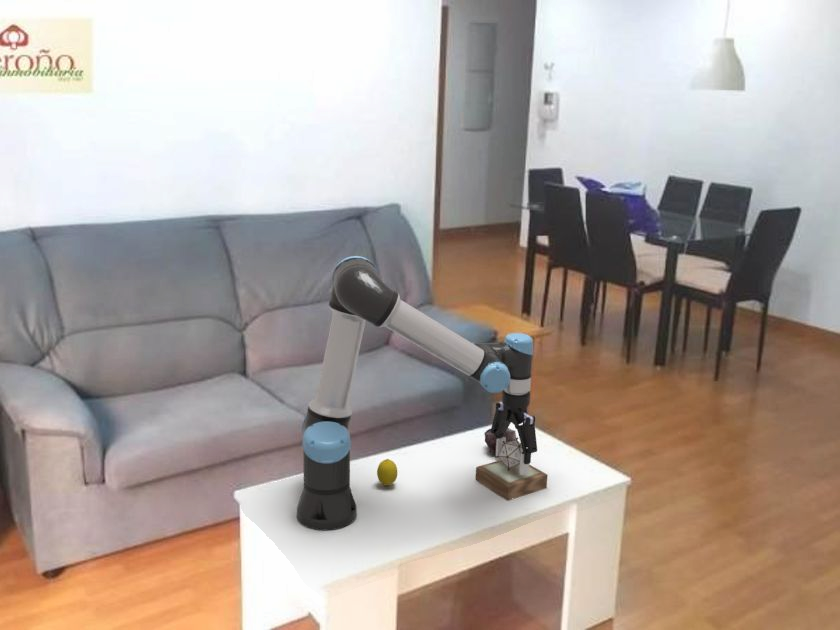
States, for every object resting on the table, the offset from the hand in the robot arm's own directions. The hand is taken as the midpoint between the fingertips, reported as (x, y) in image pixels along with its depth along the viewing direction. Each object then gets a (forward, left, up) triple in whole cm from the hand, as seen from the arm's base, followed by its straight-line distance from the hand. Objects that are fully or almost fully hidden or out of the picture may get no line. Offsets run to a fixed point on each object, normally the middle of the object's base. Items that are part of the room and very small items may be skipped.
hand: (511, 466), depth 239 cm
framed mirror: (0, 0, -5) cm, 5 cm away
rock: (+10, +17, -6) cm, 21 cm away
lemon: (-30, +17, -5) cm, 35 cm away
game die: (0, 0, 0) cm, 0 cm away
